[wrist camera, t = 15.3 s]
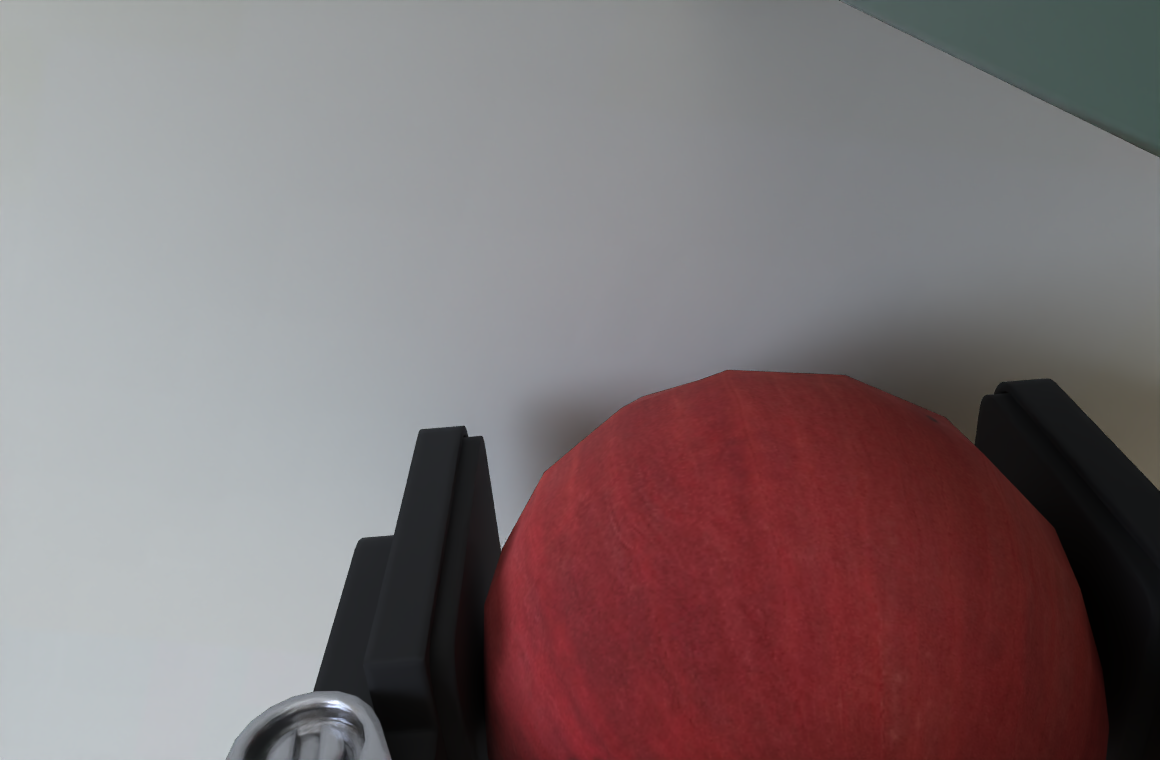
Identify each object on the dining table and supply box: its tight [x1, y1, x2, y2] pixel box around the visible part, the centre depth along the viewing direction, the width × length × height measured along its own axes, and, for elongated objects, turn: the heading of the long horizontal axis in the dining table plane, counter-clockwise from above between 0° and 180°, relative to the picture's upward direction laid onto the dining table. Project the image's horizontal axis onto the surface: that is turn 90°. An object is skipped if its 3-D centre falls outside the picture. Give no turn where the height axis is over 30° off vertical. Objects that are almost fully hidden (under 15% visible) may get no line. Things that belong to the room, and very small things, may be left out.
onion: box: [483, 370, 1109, 760], centre depth 9 cm, size 6×6×8 cm
